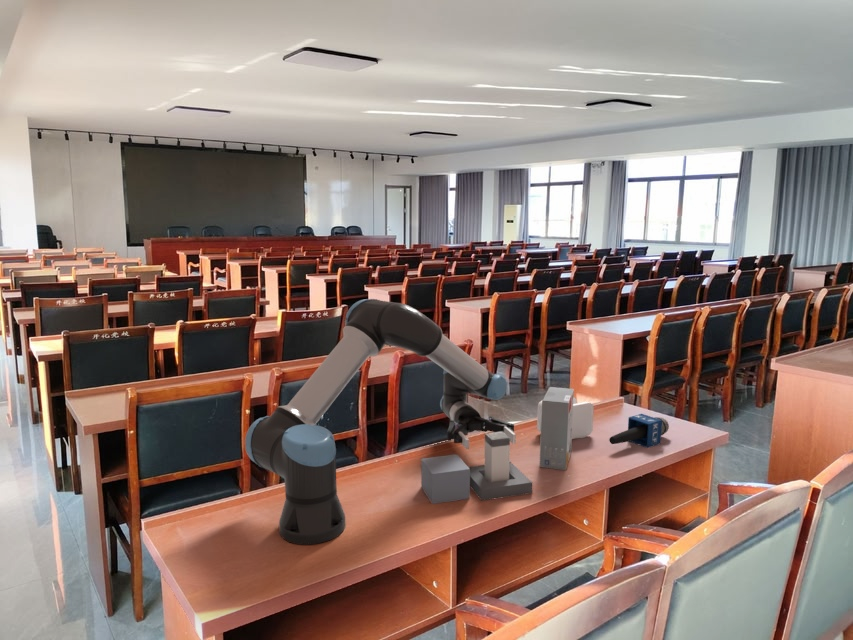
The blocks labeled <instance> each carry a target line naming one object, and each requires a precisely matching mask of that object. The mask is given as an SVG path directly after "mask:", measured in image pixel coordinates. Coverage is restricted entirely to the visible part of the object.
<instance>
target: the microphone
mask: <svg viewBox="0 0 853 640" xmlns="http://www.w3.org/2000/svg"><path fill="white" fill-rule="evenodd" d="M627 422H628V423H627V425H628V426H627V430H624V431H620V432H619V433H617V434H615V435H612V436H610V437H609V439H608V441H609V443H610V444H611V445H616V444H622V443H626V442H630V443H633V444H636V445H639V446H640V447H643V448H647V449H648V448H651V447H654V446H657V445H661V443H662V442H661V441H662V436H663V435H665V434H666V433H667V432H668V431H669V429H670V425H669V422H668V420H666V418H664V417H660V416H659V417H653V416H650V415H648V414H645V413H639V414H636V415H633V416H629V417H628V421H627Z"/></svg>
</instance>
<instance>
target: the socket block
mask: <svg viewBox="0 0 853 640" xmlns="http://www.w3.org/2000/svg"><path fill="white" fill-rule="evenodd" d="M468 467H469V469H470V489H472V491H473V492H474V493H475V494H476V496H479V497H478V498H479V499H480V500H481V501H482V500H483V501H487V500H488V499H489V500H494V498H496V499H502V498H501V497H503V498H508V496H509V497H515V496H521V495H522V496H523V495H528V494H529V493H530V494H533V481H532V480H531V479H530V478H529V477H527V475H525V474H524V473H523V472H522V471H521V470H520V469H519V468H518V467H517V466H515V464H514V463H512V461H509V480H503V481H496V482H488V481H487V480H486V479H485V477H484V471H485V464H481V465H473V466H468ZM489 500H488V501H489Z"/></svg>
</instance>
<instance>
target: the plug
mask: <svg viewBox="0 0 853 640" xmlns="http://www.w3.org/2000/svg"><path fill="white" fill-rule="evenodd" d="M510 444H511V442H510V438H509V437H508V436H507V435H506V434H505V433H504V432H502V431H501V432H492V431H491V432H484V465H485V471H484V477H485V479H486V480H487V481H488V482H496V481H503V480H509V462H510V454H511V453H510V450H511V448H510Z"/></svg>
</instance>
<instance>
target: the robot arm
mask: <svg viewBox="0 0 853 640" xmlns="http://www.w3.org/2000/svg"><path fill="white" fill-rule="evenodd" d="M345 318H346V319H345V321H344V325H345V326H344V327H343V329H342V333H343V336H342V338H341V340H339V342H338V343H337V344H336V345H335V347H334V348H333V349H332V350H331V352H330V353H329V354H328V355H327V356H326V358H324V360H323V361H322V362H321V364H320V365H319V366H318V368H316V369H315V371H314V372H313V373H312V374H311V376H310V377H309V378H308V380H307V381H306V382H305V383H304V384H303V385H302V387H300V389H299V390H298V391H297V392H296V393H295V395H294V396H293V397H292V399H291V400H290V401H289V403H287V404H286V405H279V406H277V407H276V409H275V410H274V411H273V412H272V413H271V414H270V416H269V415H266V416H263V417H259V418H258V419H256V420H255V421H253V422H252V423H251V425H250V426H249V428H248V430H247V432H246V434H245V439H244V442H245V447H244V449H245V452H246V454H247V456H248V457H249V459H250V460H251V461H252V462H253V463H255V464H256V465H258V467H260V468H262V469H265V470H268V471H269V472H271V473H274V474H275V475H277V476H279V477H281V478H283V479H284V492H285V493H284V494H285V499H284V502H283V503H284V504H283V507H282V511H281V514H280V518H279V523H278V528H279V529H278V530H279V531H278V532H279V535H280V536H281V538H282V539H283V540H285V541H287V542H289V543H293V544H297V545H316V544H321V543H325V542H328V541H331V540H333V539H336V538H337V537H338V536H339V535H341V534H342V533H343V532H344V530H345V528H346V524H347V523H346V514H345V512H344V509H343V507H342V503H341V501H340V499H339V496H338V492H337V491H338V490H337V457H336V455H337V454H336V453H337V448H336V443H335V438H334V437H335V436H334V435H333V433H332V432H331V431H330V429H327V428H326V427H324V426H321V425H319V424H317V423H318V422H319V421H320V420H321V418H322V417H323V416H324V414H326V412H327V411H328V410H329V408H330V407H331V406H332V404H333V403H334V401H335V400H336V399H337V398H338V396H339V395H340V394H341V392H342V391H343V390H344V389H345V387H346V386H347V385H348V383H350V381H351V380H352V378H353V377H354V376H355V375H356V373H358V371H359V370H360V368H362V366H363V365H364V364H365V362H366V361H367V360H368V359H369V358H370V357H376V356H378V355H379V353H380V352H381V351H382V349H383V348H384V347H385V346H390V347H395V348H396V347H397V348H401V349H404V350H407V351H410V352H412V353H414V354H415V355H417V356H419V357H426V358H427V359H428V360H431V362H433V363H434V364H436V365H438V366H439V367H440V368H442V369H443V372H442V374H443V394H442V397H441V398H440V402H439V407H440V410H441V411H442V412H443V414H444V415H445V416H446V417H448V418H449V426H448V428H447V431H446V441H452V440H453V443H454V444H460V445H462V447H464V448H465V450H470V439H469V437H467V436H466V435H467V434H468V433H473V432H475V431H476V432H477V431H478V432H484V433H487V432H491V433H492V432H501V431H502V432H504V433H505V434H506V435H507V436H508V437H509V438H510V444H512V445H513V444H514V445H515V444H516V435H517V434H516V433H515V424H514V423H511V422H507V421H504V420H501V419H498V418H496V417H494V416H491V415H490V416H488V419H486V418H483V417H482V416H481V415H480V413H479V411H478V410H477V409H475V407H473V406H472V405H471V404H469V402H468V394H471V395H476V396H478V397H483V398H485V399H488V400H495V401H496V400H501V399H502V398H503V397H504V396H505V394H506V392H507V389H508V384H507V383H508V382H507V380H506V378H505V377H504V376H503V375H500V374H498V373H493V372H491V371H489V370H488V369H487V368H486V367H484V366H483V365H482V364H480V363H479V362H478V361H477V360H476V359H474V358H473V357H472V356H470V355H469V353H466V352H465V351H464V350H463V349H462V348H461V347H460V346H458V345H457V344H455V342H453V341H452V340H450V339H449V337H447V336H446V335H445V334H443V330H442V328H441V327H440V326H439V324H437V323H436V322H434V321H433V320H432V319H430V318H429V317H427V315H425V314H423V313H422V312H420V311H419V310H418V309H416V308H414V307H412V306H410V305H408V304H405V303H402V302H393V301H386V300H380V299H375V298H366V299H360V300H358V301H356V302H355V303H353V304H352V305H351V306H350V308H349V309H348V311H347V313H346V315H345Z"/></svg>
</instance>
